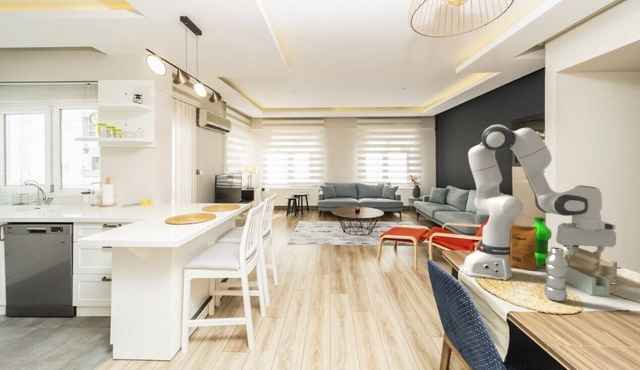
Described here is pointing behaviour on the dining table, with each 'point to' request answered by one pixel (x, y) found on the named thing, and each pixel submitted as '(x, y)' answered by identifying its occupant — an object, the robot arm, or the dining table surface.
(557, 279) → the plastic bottle
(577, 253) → the light wood flat panel
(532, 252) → the coffee package
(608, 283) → the stand
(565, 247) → the medicine bottle
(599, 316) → the dining table surface
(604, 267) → the box
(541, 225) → the plastic bottle
